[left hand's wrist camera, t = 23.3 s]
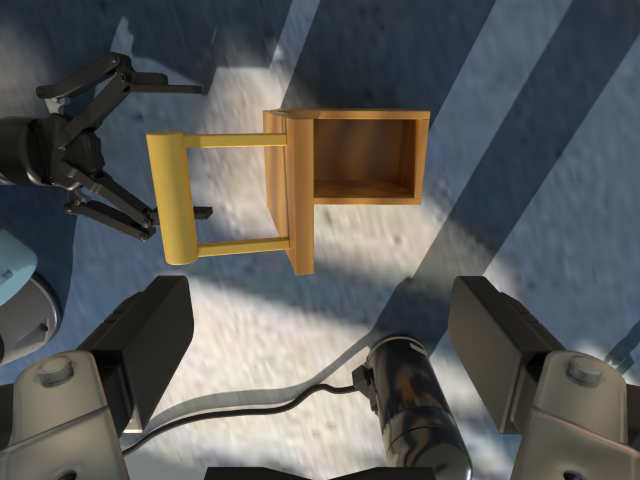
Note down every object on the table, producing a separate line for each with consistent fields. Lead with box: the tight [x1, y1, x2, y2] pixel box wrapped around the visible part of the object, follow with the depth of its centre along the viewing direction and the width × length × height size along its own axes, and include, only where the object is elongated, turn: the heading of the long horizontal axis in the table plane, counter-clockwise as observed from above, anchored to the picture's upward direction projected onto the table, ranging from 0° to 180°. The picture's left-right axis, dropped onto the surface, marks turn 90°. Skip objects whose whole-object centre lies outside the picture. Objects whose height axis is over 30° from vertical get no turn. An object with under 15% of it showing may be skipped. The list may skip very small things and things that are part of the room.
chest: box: [270, 108, 430, 205], centre depth 43 cm, size 16×10×10 cm, turn 90°
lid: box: [146, 111, 314, 275], centre depth 29 cm, size 17×10×9 cm
